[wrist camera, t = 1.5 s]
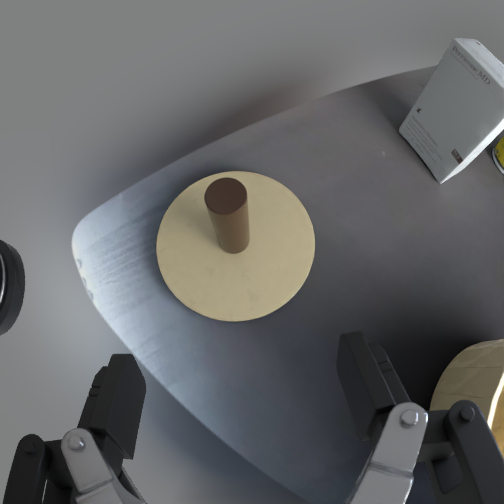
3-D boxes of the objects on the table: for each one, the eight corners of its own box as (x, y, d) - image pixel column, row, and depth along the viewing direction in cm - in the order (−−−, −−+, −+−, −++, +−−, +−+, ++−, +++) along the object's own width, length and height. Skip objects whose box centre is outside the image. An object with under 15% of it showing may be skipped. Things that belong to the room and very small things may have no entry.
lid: (208, 352, 23) (182, 354, 15) (137, 223, 27) (97, 175, 19) (342, 265, 25) (379, 227, 17) (258, 155, 29) (258, 91, 21)
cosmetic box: (396, 131, 30) (446, 33, 16) (425, 120, 31) (473, 34, 17) (441, 188, 28) (517, 102, 14) (467, 171, 29) (534, 95, 15)
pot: (452, 480, 18) (500, 505, 10) (407, 403, 21) (464, 417, 13) (521, 399, 20) (573, 399, 12) (486, 318, 23) (543, 302, 15)
